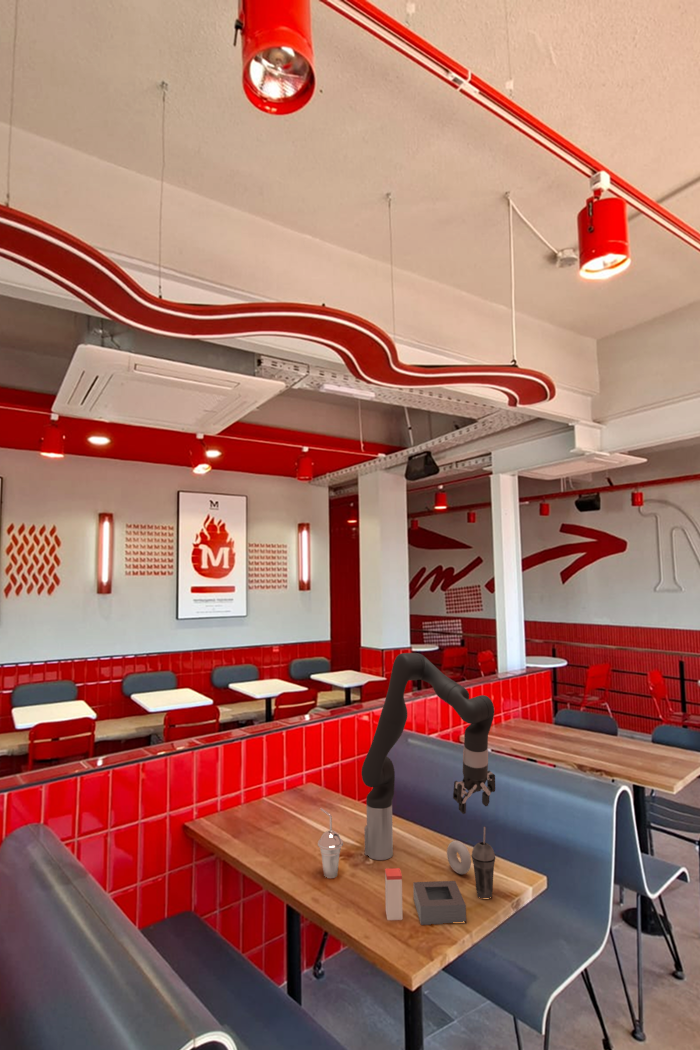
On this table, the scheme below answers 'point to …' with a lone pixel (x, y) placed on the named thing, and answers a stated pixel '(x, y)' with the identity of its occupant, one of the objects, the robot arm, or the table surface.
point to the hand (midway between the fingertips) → (473, 808)
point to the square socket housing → (439, 902)
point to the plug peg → (393, 893)
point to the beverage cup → (483, 868)
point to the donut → (453, 859)
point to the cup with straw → (330, 850)
